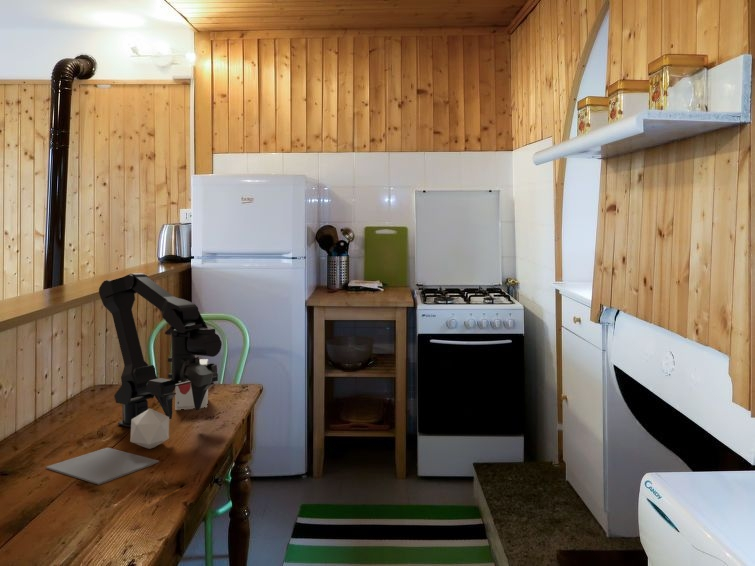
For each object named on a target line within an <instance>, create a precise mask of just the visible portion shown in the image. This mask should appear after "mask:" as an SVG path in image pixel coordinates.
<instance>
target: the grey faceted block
mask: <svg viewBox="0 0 755 566" xmlns="http://www.w3.org/2000/svg"><path fill="white" fill-rule="evenodd" d="M169 439H170V419H169V417H168V416H166V415H165V413H164V414H163V413H161V412H159V411H156V410H154V409H152V408H148V410H146V411H145V412H143V413H141V414H140V415H138V416H136V417H135V418H133V419H131V427H130V441H129V442H130V443H132V444H135V445H138V446H140V447H142V448H145V449H154V448H156V447H157V446H159V445H161V444H162V443H164V442H166V441H167V440H169Z"/></svg>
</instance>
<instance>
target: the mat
mask: <svg viewBox="0 0 755 566" xmlns="http://www.w3.org/2000/svg"><path fill="white" fill-rule="evenodd" d="M158 463H160V460H157V459H153V458H150V457H147V456H143V455H139V454H134V453H131V452H126V451H123V450H118V449H115V448H111V447H104V448H101V449H98V450H95V451H92V452H88V453H86V454H82V455H79V456H75V457H71V458H69V459H66V460H63V461H60V462H57V463H53V464H50V465H47V466H45V469H46V470H50V471H53V472H56V473H59V474H62V475H66V476H68V477H72V478H76V479H79V480H82V481H84V482H85V481H86V482H88V483H91V484H94V485H98V486H101V485H103V484H106V483H108V482H111V481H113V480H116V479H118V478H121V477H124V476H127V475H129V474H133V473H135V472H139V471H141V470H143V469H146V468H149V467H151V466H153V465H156V464H158Z"/></svg>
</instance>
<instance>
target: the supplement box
mask: <svg viewBox="0 0 755 566" xmlns="http://www.w3.org/2000/svg"><path fill="white" fill-rule="evenodd" d="M199 359H200V358H199ZM200 364H201V365H207V364H209V359H208V358H206V359H205V358H202V359H200ZM179 382H181V381H179ZM174 393H176V394H175V396H174V397H175V399H174V401H175V402H174V404H175V405H174V409H175V411H182V410H181V409H184V410H194V409H193V408H195V406H194V400H193V394H192V388H191V383H188V384H184V385H180V386H176V387H175V390H174ZM207 404H208V405H209V388H208V389H207V391H206V393H205V396H204V399H203V401H202V404H201V407H200V409H203V408H204V407H205V408H208V405H207Z"/></svg>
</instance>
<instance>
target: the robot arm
mask: <svg viewBox="0 0 755 566" xmlns="http://www.w3.org/2000/svg"><path fill="white" fill-rule="evenodd" d="M98 294H99V297H100V299H101V302H102V305H103V306H104V307H105V308H106V310H107V311H108V312H110V313H111V316H112V319H113V323H114V328H115V331H116V332H115V333H116V336H117V340H118V344H119V348H120V352H121V356H122V360H123V364H124V367H123V371H122V372H121V376H120V380H121V386H120V387H119V388H118V390H117V391H116V392H115V394H114V400H115V403H116V404H121V405H122V406H121V407H122V420H121V421H118V422H117V425H119V426H124V427H129V428H131V419H133V418H135V417H136V416H138V415H140V414H141V413H143V412H145V411H146V410H148V409H149V406H148V405H149V400H151V399H154V397H155V399H156V400H157V402H158V403H159V405H160V407H161V408H162V411H163V413H164V415H166V416H168V417H169V420H172V418H173V401H174V400H173V399H174V397H175V394H176V393H175V387H176V386H180V385H184V384H188V383H191V388H192V394H193V400H194V406H195V411H198V412H199V411H200V410H201V408H200V407H201V404H202V401H203V399H204V396H205V393H206V391H207V389H208V390H209V388H210V387H211V386H213V385H215V382H217V381H218V380H219V377H218V376H219V374H218V366H217V365H218V364H216V363H214V362H210V363H208V364H207V365H201V364H200V358H199V356H203V357H209V358H210V357H211V358H214V357H216V356H217V355H218V354H219V353H220V352H221V350H222V344H223V343H222V340H221V337H220V336H219V335H218V334H217V333H216V328H208V325H207V324H206V321H205V320H204V317H202V314H201V313H200V311H199V307H198V305H196V304H195V303H194V302H191V301H190V300H186V299H184V298H180V297H179V298H178V297H176V296H174V295H172V294H171V293H170V292H168V291H167V290H165V288H163V287H162V286H160V285H159V284H157V283H156V282H155V281H153V280H152V279H150V278H149V276H148V275H147V274H146V273H128V274H126V275H125V276H122V277H118V278H114V279H107V280H104V281H102V282H101V284H100V286H99V288H98ZM136 294H138V295H139V296H141V297H142V298H143V299H145V300H146V301H147V302H149V304H151V305H152V306H153V307H155V308H157V309H158V310H159V311H160V313H161V317H162V319H163V320H164V321H165V322H166V323H167V324H168V325H169V328H168V329H167V330H166V331H165V332H164V335H167V336H170V341H171V342H170V345H171V346H170V347H171V348H170V350H171V351H170V353H171V354H170V355H171V357H170V356H169V357H167V362H169V363H171V367H170V368H171V373H167V378H162V377H159V378H158V376H157V373H156V367H155V366H154V364H150V365H149V364H148V363H147V362H146V360H145V358H144V354H143V351H142V347H141V343H140V338H139V334H138V330H137V325H136V322H135V317H134V314H133V306H134V303H135V301H136V296H135V295H136ZM179 381H181V382H179Z"/></svg>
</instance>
